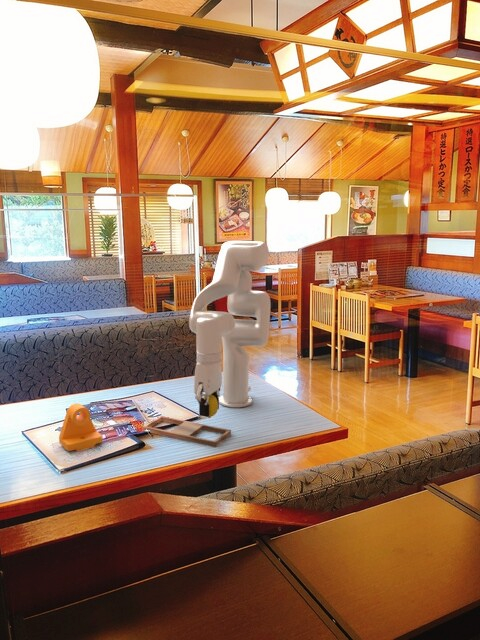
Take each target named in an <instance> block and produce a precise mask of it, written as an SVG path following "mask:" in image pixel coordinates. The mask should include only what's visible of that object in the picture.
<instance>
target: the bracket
mask: <svg viewBox="0 0 480 640" xmlns="http://www.w3.org/2000/svg"><path fill="white" fill-rule="evenodd" d="M58 442H59V444H60V445H61V446H62V447H63V448H64V449H65V450H66V451H68V452H69V451H76V452H80V451H83V450H87V449H91V448H94V447H96V445H97V444H100V443H103V435H102V434H101V433H100V432H99V431H98V430H97V429H96V427H95V425H94V423H93V421H92V419H91V412H90V410H89V409H88V408H87V407H85V406H84V405H82V404H81V403H73V404H71V405H70V406H69V407H68V408H67V410H66V414H65V417H64V419H63V423H62V427H61V429H60V432H59V436H58Z"/></svg>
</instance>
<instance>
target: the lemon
mask: <svg viewBox="0 0 480 640" xmlns="http://www.w3.org/2000/svg"><path fill="white" fill-rule="evenodd" d="M202 398H204V399H205V398H206V396H203V397H202ZM208 404H209V417H207V418H208V419H211V418H212V417H213V416H215V415H216V414H217V413H218V410H219V409H218V401H217V399H216V397H215V396H213V395H211V394H210V395H209V400H208Z"/></svg>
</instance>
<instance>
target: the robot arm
mask: <svg viewBox="0 0 480 640" xmlns="http://www.w3.org/2000/svg"><path fill="white" fill-rule="evenodd" d="M269 251H270V250H269V247H268V245H267V243H266V242H265V241H255V240H254V241H252V240H250V241H248V240H230V241H226V242H224V243H223V244H222V245H221V247H220V251H219V253H218V257H217V261H216V266H215V270H214V273H213V278H212V281H211V282H210V283H209V284H208V285H207V286H205V287H204V288H203V289H202V290H200V292H198V294H197V295H196V296H195V299H194V300H193V303H192V306H191V310H190V315H189V320H188V326H189V329H190V331H191V332H192V333H194V334H196V335H195V336H196V340H195V341H196V343H195V344H196V363H195V368H194V369H195V370H194V382H193V383H194V385H193V386H194V387H193V391H194V392H193V393H194V394H195V400H197V402H198V406H199V407H198V408H199V409H198V412H199V413H198V414H199V416H201V417H205V418H208V417H209V404H208V400H209V395H210V394H211V395H213V396H215V397H216V399H217V401H218V410H219V409H220V405H221V406H224V407H227V408H243V407H244V408H245V407H248V406H250V405H252V403H253V398H252V397H251V396H250V395H249V392H251V389H252V388H251V386H249V379H250V378H249V374H250V372H249V370H250V369H249V367H250V366H249V365H250V359H249V354H248V351H247V350H246V348H245V347H255V348H262V347H263V348H264V347H265V346H266V345H267V344H268V341H269V336H270V335H269V333H270V321H271V306H272V305H271V298H270V297H271V296H270V295H269V294H268V292H266V291H261V290H252V288H253V287H252V286H253V285H252V284H253V277H252V275H251V272H257V271H259V270H260V269H262V268H263V267H264V266H265V265H266V263H267V262H268V259H269V254H270V253H269ZM225 297H227V301H226V305H227V311H228V312H227V311H215V310H205V308H206V307H207V306H208V305H209V304H211V303H213V302H214V301H216V300H220V299H222V298H225ZM235 316H237V317H238V316H240V317H249V318H250V317H253V318H256V320H253V319H251V320H250V319H241V318H240V319H235ZM222 350H223V351H222ZM222 352H223V353H222ZM222 355H223V356H222ZM221 362H222V363H221ZM222 365H223V366H222ZM222 367H223V368H222ZM221 387H222V395H221V396H220V391H221ZM204 396H206V398H205V399H204V398H203V397H204Z"/></svg>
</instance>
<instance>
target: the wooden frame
mask: <svg viewBox="0 0 480 640" xmlns="http://www.w3.org/2000/svg"><path fill="white" fill-rule="evenodd" d="M159 422H160V423H162V422H164V423H169V424H173V423H174V424H175V425H176V427H174V428H173V429H170V430H169V431H168V430H164V429H160V428H156V427H155V426H156V425H158V424H159ZM157 423H158V424H157ZM174 424H173V425H174ZM154 425H155V426H154ZM152 426H153V427H152ZM141 427H142V428H143V429H147V430H150V431H151V432H150V434H153V435H158V436H164V437H167V438H172V439H176V440H182V441H186V442H190V443H195V444H200V445H204V446H208V447H213V448H217V446H219V445H220V444H222V442H224V441H226V439H227V438H229V437H230V436H231V435H232V429H229V428H228V429H227V428H224V427H223V428H222V427H218V426H212V425H207V424H204V423H199V422H194V421H193V422H192V421H187V420H183V419H177V418H174V417H168V416H163V415H160V416H159V417H156V418H155V419H153V420H152V421H150V422H148V423H147V424H146V423H145V424H144V425H143V426H141ZM142 428H141V429H142ZM202 431H207V432H211V433H216V434H221V435H220V436H218V437H217V438H216V439H215V440H211V439H206V438H201V437H198V436H197V435H198V434H199V433H201V432H202ZM196 436H197V437H196Z"/></svg>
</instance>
